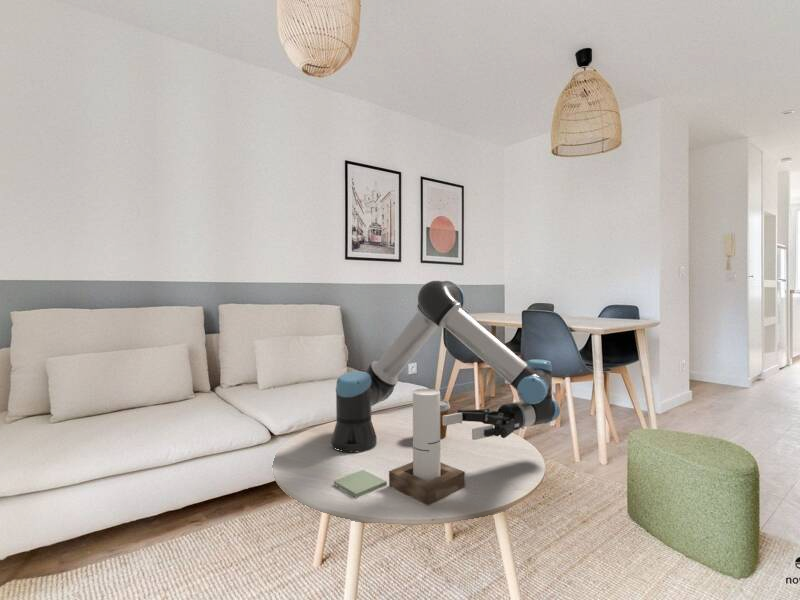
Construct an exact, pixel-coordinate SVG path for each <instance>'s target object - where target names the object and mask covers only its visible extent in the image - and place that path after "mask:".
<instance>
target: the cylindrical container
mask: <svg viewBox="0 0 800 600" xmlns="http://www.w3.org/2000/svg"><path fill="white" fill-rule="evenodd" d="M440 400H441V391H440V390H437V389H433V388H417V389H414V390H412V462H413V476H416V477H418V478H420V479H422V480H425V481H427V482H428V481H430V480H433V479H435V478H437V477H439V476H440V462H441V439H440Z"/></svg>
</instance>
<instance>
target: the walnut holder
mask: <svg viewBox="0 0 800 600" xmlns="http://www.w3.org/2000/svg"><path fill="white" fill-rule="evenodd" d="M465 474H466V473H465V471H463V470H461V469H459V468H455V467H453V466H451V465H448V464H445V463H443V462H441V461H440V476H439V477H437V478H435V479H433V480H430V481H428V482H427V481H425V480H422V479H420V478H418V477H416V476H413V461H411V462H408V463H406V464H404V465H401V466H398V467H396V468H393V469H391V470H389V471H388V481H389V482H388V487H390V488H392V489H393V490H395V491H398V492H400V493H402V494H404V495H405V496H408V497H410V498H412V499H414V500H417V501H418V502H419V503H421V504H424V505H426V506H430V505H432V504H434V503H436V502H438V501H440V500H442V499H444V498H446V497H448V496H450V495H451V494H454V493H455V492H457V491H459V490H461V489H463V488H465V485H466V483H465V481H466V480H465V479H466V477H465V476H466V475H465Z"/></svg>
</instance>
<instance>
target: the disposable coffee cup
mask: <svg viewBox="0 0 800 600" xmlns="http://www.w3.org/2000/svg"><path fill="white" fill-rule="evenodd" d="M450 408H451V405H450V402H449V401H448V400H444V399H440V440H442V439H445V438H446V437H447V430H448V429H447V428H448V425H446V426H443V421H442V416H444V415H450V414H449V413H450V410H451V409H450Z"/></svg>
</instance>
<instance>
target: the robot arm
mask: <svg viewBox="0 0 800 600" xmlns="http://www.w3.org/2000/svg"><path fill="white" fill-rule="evenodd" d="M465 301H466V300H465V293H464V291H463V290H462V288H461V287H460V286H459V285H458V284H457V283H454V282H452V281H450V280H443V281H442V280H431V281H429V282H427V283H425V284H424V285H422V287H420V289H419V291H418V295H417V305H416V308H417V312H416V314H415V315H414V316H413V317H412V318H411V320H410V321H409V323H407V325H406V326H405V327H404V328H403V330H402V331H401V333H400V334H399V335H398V336H397V337H396V339H395V340H394V341H393V342H392V344H391V345H390V347H388V349H387V350H386V351H385V353H384V354H383V355H382V356H381V358H380V359H379V360H374V361H372V362H371V364H370V365H369V366H368V367H367V369H366V370H365V371H351V372H346V373H343V374H341V375H340V376H339V377H338V378H337V379H336V387H335V393H336V394H335V396H336V397H335V398H336V399H335V400H336V401H335V403H336V422H335V423H336V424H335V425H334V429H333V432H332V436H331V438H330V439H331V440H330V441H331V442H330V445H331V444H332V446H333V447H334V448H336V449H339V450H342V451H352V452H351V453H357V452H356V451H361V452H365V450H366V451H369V450H371V449H373V448H375V447H376V445H377V443H378V441H377V439H378V438H377V437H378V436H377V434H376V431H375V428H374V425H373V422H372V406H375V405H377V404H379V403H381V402H383V401H385V400H387V399H389V398H390V396H391V395H392V393H393V392H394V390H395V386H396V385H397V384H398V382H399V378H398V376H399V375H400V374H401V373H402V371H403V370H404V368H406V366H407V365H408V364H409V363H410V361H411V360H412V359H413V358H414V357H415V356H416V354H417V353H418V352H419V351H420V349H421V348H422V347H423V346H424V344H425V343H426V342H427V341H428V340H429V338H430V337H431V336H432V335H433V333H434V332H435V331H436V330H437V329H438V328H442V329H443V328H445V329H446V330H447V331H448V332H449V333H451V334H452V335H453V336H454V337H455V338H456V339H458V340H459V341H460V342H461V343H462V344H463V345H464V346H465V347H466V348H468V349H469V350H470V351H471V352H472V353H473V354H475V355H476V356H477V357H478V358H479V359H481V360H482V361H483V362H484V363H485V364H486V365H488V366H489V367H490V369H492V370H493V371H494V372H496V373H497V374H498V376H500V377H501V378H502V379H504V380H505V382H507V383H508V384H509V385H511V386H512V388H513V389H515V390H516V391H517V395H518V397H519V398H520V400H522V401H514V402H511V403H505V404H502V405H500V407H498V410H492V411H491V410H490V409H489V408H484V409H483V408H482V409H458V410H457V412H455V413H451V414H448V415H444V416H442V421H443V426H446V425H447V426H451V425H455V424H462V423H463V422H474V423H482V424H483V425H484V424H485V426H480V427H476V428H472V429H471V439H472V441H475V440H476V441H477V440H481V439H485V438H490V437H499V436H500V438H502V439H505V438H507V437H509V436H510V435H511V434H512V433H513V432H515V431H517V430H520V429H522V430H523V429H525V428H529V427H532V426H537V425H542V424H549V423H550V422H554V421H556V420H557V419H558V418H559V417H560V414H561V409H560V408H561V407H560V406H559V403H558V401H557V400H556V399H555V398H553V396H552V395H553V393H552V392H553V391H552V388H553V387H552V386H553V385H552V383H553V381H552V380H553V369H552V367H553V366H552V362H551V361H550V360H546V359H529V360H527V361H526V362H525V361H524V360H523V359H521V358H520V356H518V355H516V353H514V351H512V350H511V349H510V348H509V347H508V346H507V345H505V344H504V343H503V342H502V341H500V340H499V339H498V338H496V336H494V335H493V334H492V333H491V332H490V331H488V329H486V328H485V327H484V326H483V325H481V324H480V323H479V322H478V321H477V320H476V319H474V318H473V316H471V315H470V314H469V313H467V312H466V311H465V310H463V308H464V305H465ZM332 446H331V447H332ZM333 447H332V448H333ZM334 448H333V449H334ZM342 451H341V452H342Z"/></svg>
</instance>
